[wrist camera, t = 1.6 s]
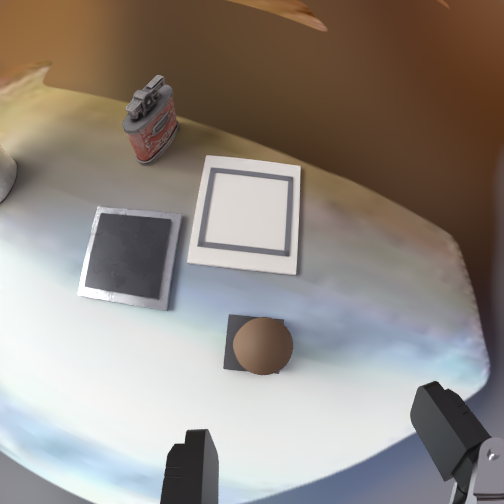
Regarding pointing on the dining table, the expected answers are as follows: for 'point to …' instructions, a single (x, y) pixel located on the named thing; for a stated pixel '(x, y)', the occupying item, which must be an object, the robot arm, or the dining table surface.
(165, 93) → the lighter
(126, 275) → the ink pad
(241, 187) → the marked board
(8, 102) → the dining table surface
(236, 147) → the dining table surface
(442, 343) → the dining table surface
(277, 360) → the stamp
